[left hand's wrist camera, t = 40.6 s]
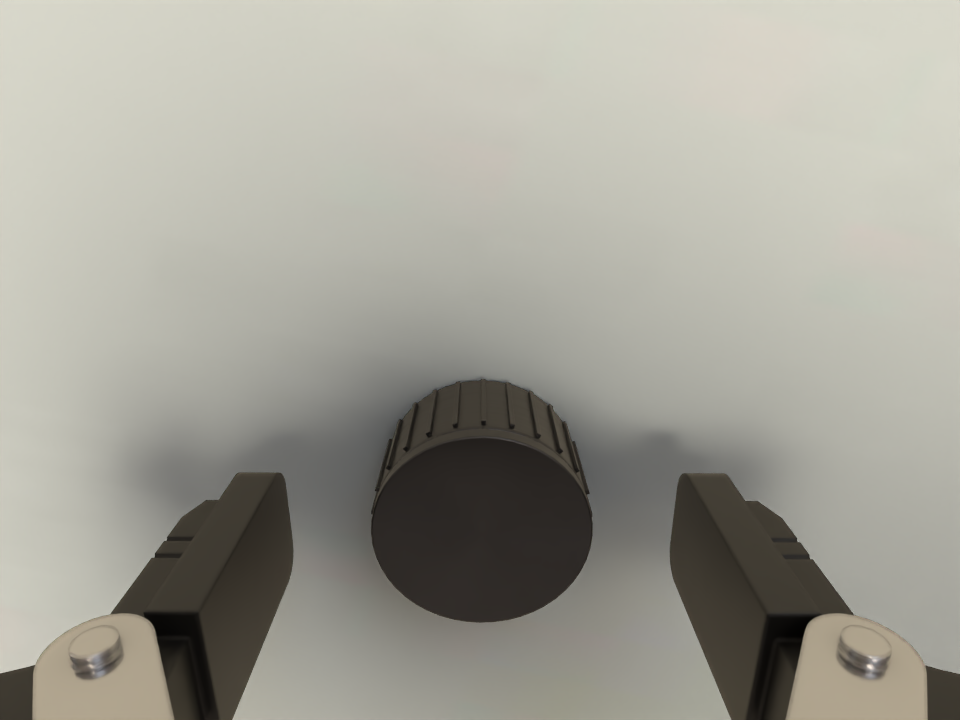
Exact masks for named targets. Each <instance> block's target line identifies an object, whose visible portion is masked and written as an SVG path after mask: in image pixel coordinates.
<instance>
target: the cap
mask: <svg viewBox="0 0 960 720" xmlns="http://www.w3.org/2000/svg"><path fill="white" fill-rule="evenodd" d="M375 491H377V492H376V496H375V500H374V503H373V507H372V513H371V514H373V515H372V521H371V535H372V543H373V548H374V551H375V554H376V557H377V560H378V562H379V564H380V566H381V568H382V570H383V572H384V573H385V575H386V576H387V578H388V579H389V580H390V582H391V583H392V584H393V585H394V586H395V587H396V589H398V590H399V591H400V592H401V593H402V594H403V595H404V596H405V597H406V598H408V599H409V600H411V601H412V602H414V603H415V604H416V605H418V606H420V607H422V608H424V609H426V610H428V611H430V612H432V613H435V614H437V615H440V616H443V617H447V618H450V619H454V620H460V621H466V622H497V621H504V620H509V619H513V618H517V617H521V616H523V615H526V614H529V613H532V612H534V611H536V610H538V609H540V608H542V607H544V606H545V605H547V604H548V603H550V602H551V601H553V600H554V599H556V598H557V597H558V596H559V595H561V594H562V593H563V592H564V591H565V590H566V589H567V588H568V587H569V586H570V585H571V584H572V583H573V581H574V580H575V579H576V577H577V576H578V574H579V573H580V571H581V569H582V567H583V565H584V563H585V561H586V559H587V556H588V553H589V550H590V547H591V541H592V527H593V523H592V511H591V508H590V504H589V500H588V497H587V494H589V490H588V486H587V483H586V479H585V476H584V472H583V469H582V466H581V462H580V459H579V455H578V452H577V448H576V445H575V441H573V442H572V441H571V437H570V434H569V430H568V427H567V424H566V422H565V421H564V422H562V421H561V419H560V418H559V416H558V415H557V414H556V413H555V412H554V410H553V406H552V405H550V404H549V405H547V404H546V403H545V402H544V401H542V400H541V399H539V398H538V397H536V396H535V395H534V394H533V392H532V391H529V392H528V391H526V390H524V389H521V388H519V387H516V386H513V385H511V384H510V383H508V382H506V383H501V382H495V381H485V379H481V381H469V382H463V383H460V381H459V382H456V384H454V385H451V386H447V387H445V388H442V389H440V390H438V391H437V389H436V390H434V391H433V392H432V394H430V395H429V396H427V397H425V398H424V399H422V400H421V401H420V402H419V403H416V402H415V403H414V404H413V406H412V409H411V410H410V411H409V412H408V413H407V414H406V416H405V417H404V418H403V420H401V419H399V421H398V423H397V427H396V431H395V434H394V437H393V439H389V442H388V446H387V449H386V453H385V456H384V460H383V464H382V467H381V471H380V474H379V478H378V482H377V485H376V489H375Z"/></svg>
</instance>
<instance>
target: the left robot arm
mask: <svg viewBox="0 0 960 720" xmlns="http://www.w3.org/2000/svg"><path fill="white" fill-rule="evenodd" d="M292 564H293V540H292V531H291V523H290V515H289V507H288V499H287V490H286V483H285V479H284V476H283V475H282V473H238V474H236V475H235V477H234V478H233V480H232V481H231V483H230V484H229V486H228V487H227V489H226V490H225V491H224V493H223V494H222V496H221V497H220V499H219V500H206V501H204V502H203V503H202V504H200V505H199V506H197V507H196V508H194V509H193V510H192V511H190V512H189V513H187V514H186V515H184V516H183V517H182V518H181V519H180V520H179V522H178V523H177V525H176V526H175V527H174V529H173V530H172V531H171V533H170V534H169V535H168V537H167V541H164V542H163V544H162V545H161V546H160V548H159V549H158V550H157V552H156V553H155V558H151V560H150V561H149V563H148V564H147V565H146V567H145V568H144V569H143V571H142V572H141V573H140V575H139V576H138V577H137V579H136V580H135V582H134V583H133V584H132V586H131V587H130V588H129V590H128V591H127V592H126V594H125V595H124V596H123V598H122V599H121V600H120V602H119V603H118V605H117V606H116V607H115V609H114V610H113V611H112V613H111V614H110V615H105V616H101V617H98V618H94V619H91V620H89V621H86V622H84V623H82V624H80V625H78V626H75V627H73V628H72V629H70V630H68V631H67V632H65V633H64V634H62V635H61V636H59V637H58V638H57V639H55V640H54V641H53V642H52V643H51V644H50V645H49V646H48V647H47V648H46V649H45V650H44V651H43V653H42V654H41V655H40V657H39V659H38V660H37V662H36V665H34V666H30V667H26V668H22V669H18V670H14V671H9V672H5V673H1V674H0V720H232V719H233V716H234V714H235V712H236V709H237V707H238V704H239V702H240V699H241V697H242V694H243V692H244V690H245V687H246V685H247V682H248V680H249V677H250V675H251V672H252V670H253V667H254V665H255V663H256V660H257V658H258V655H259V653H260V650H261V648H262V645H263V643H264V641H265V638H266V636H267V633H268V631H269V628H270V626H271V623H272V621H273V619H274V616H275V614H276V611H277V609H278V606H279V604H280V601H281V599H282V596H283V594H284V592H285V589H286V587H287V584H288V582H289V579H290V575H291V571H292ZM670 564H671V571H672V575H673V579H674V582H675V585H676V587H677V589H678V592H679V594H680V597H681V599H682V602H683V604H684V606H685V609H686V611H687V614H688V616H689V618H690V621H691V623H692V626H693V628H694V631H695V633H696V635H697V638H698V640H699V643H700V645H701V647H702V650H703V652H704V655H705V657H706V659H707V662H708V664H709V667H710V669H711V672H712V674H713V676H714V679H715V681H716V684H717V686H718V688H719V691H720V693H721V696H722V698H723V701H724V703H725V705H726V708H727V710H728V713H729V715H730V717H731V720H960V674H956V673H952V672H948V671H943V670H939V669H936V668H932V667H928V666H925V665H924V662H923V660H922V659H921V657H920V655H919V654H918V653H917V651H916V650H915V649H914V648H913V647H912V646H911V645H910V644H909V643H908V642H907V641H906V640H905V639H903V638H902V637H901V636H899V635H898V634H896V633H895V632H893V631H892V630H890V629H888V628H887V627H885V626H882V625H880V624H878V623H876V622H874V621H871V620H869V619H866V618H862V617H859V616H855V615H854V614H853V613H852V612H851V610H850V609H849V608H848V606H847V605H846V603H845V602H844V601H843V599H842V598H841V597H840V595H839V594H838V593H837V591H836V590H835V589H834V587H833V586H832V585H831V583H830V582H829V581H828V579H827V578H826V577H825V575H824V574H823V573H822V571H821V570H820V569H819V567H818V566H817V565H816V563H815V562H814V561H813V559H810V558H809V554H808V552H807V551H806V550H805V548H804V547H803V546H802V544H801V543H800V542H797V538H796V536H795V535H794V534H793V532H792V531H791V530H790V528H789V527H788V526H787V524H786V523H785V522H784V520H783V519H782V518H781V517H779V516H778V515H777V514H775V513H774V512H772V511H771V510H769V509H768V508H766V507H765V506H764V505H762V504H761V503H759V502H758V501H745V500H744V499H743V497H742V496H741V494H740V493H739V491H738V490H737V488H736V487H735V485H734V484H733V483H732V481H731V480H730V478H729V477H728V476H727V475H726V474H724V473H684V474H682V475H681V476H680V478H679V481H678V486H677V494H676V502H675V510H674V518H673V526H672V534H671V542H670Z"/></svg>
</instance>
